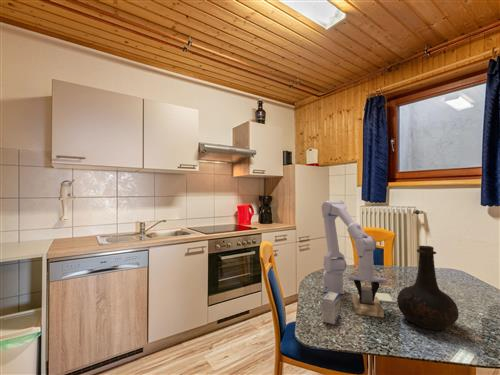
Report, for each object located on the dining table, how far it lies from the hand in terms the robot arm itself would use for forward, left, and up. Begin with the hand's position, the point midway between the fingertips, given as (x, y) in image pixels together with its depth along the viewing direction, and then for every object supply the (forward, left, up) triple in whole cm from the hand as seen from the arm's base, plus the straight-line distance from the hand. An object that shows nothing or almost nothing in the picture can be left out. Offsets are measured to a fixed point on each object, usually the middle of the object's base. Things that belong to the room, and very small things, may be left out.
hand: (366, 299), depth 102 cm
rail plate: (0, 0, -3) cm, 3 cm away
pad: (+7, +13, -3) cm, 15 cm away
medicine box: (-14, -14, -4) cm, 20 cm away
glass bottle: (+19, -7, -4) cm, 21 cm away
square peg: (0, 0, -3) cm, 3 cm away
